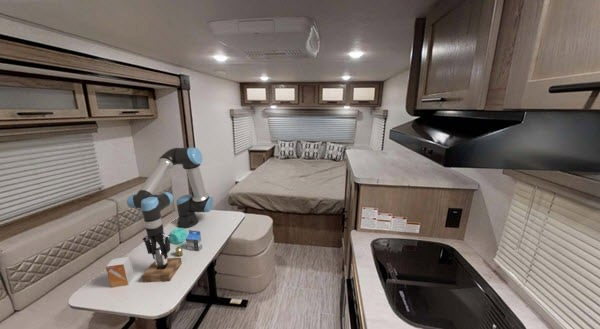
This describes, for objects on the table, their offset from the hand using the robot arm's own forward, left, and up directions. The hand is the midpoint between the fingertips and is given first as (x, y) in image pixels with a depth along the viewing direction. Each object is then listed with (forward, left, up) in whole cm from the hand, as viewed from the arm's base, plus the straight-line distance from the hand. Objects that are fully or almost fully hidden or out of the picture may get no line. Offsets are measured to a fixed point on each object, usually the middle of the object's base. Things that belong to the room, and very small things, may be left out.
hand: (161, 263), depth 124 cm
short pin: (-15, +2, -6) cm, 16 cm away
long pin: (0, 0, -5) cm, 5 cm away
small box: (+6, -18, -6) cm, 20 cm away
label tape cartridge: (-21, +9, -6) cm, 24 cm away
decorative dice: (-31, -6, -6) cm, 32 cm away
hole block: (0, 0, -6) cm, 6 cm away
